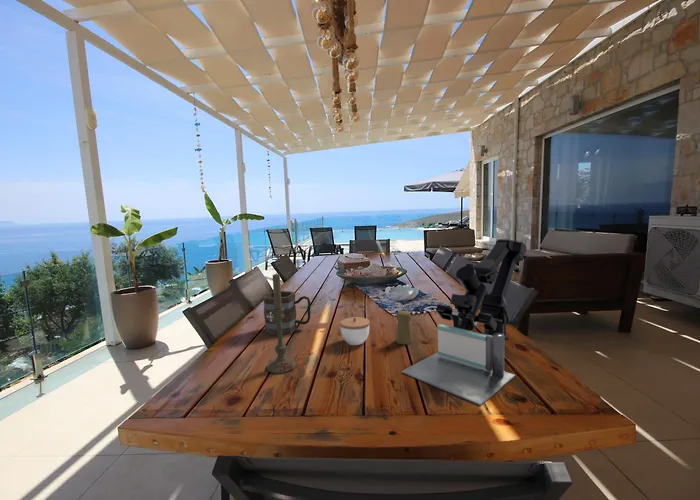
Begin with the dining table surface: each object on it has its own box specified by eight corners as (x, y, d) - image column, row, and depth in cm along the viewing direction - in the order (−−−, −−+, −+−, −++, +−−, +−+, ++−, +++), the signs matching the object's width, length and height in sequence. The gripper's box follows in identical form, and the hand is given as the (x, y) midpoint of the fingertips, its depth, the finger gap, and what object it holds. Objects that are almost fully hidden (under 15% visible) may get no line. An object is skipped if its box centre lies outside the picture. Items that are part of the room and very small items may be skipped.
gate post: (515, 376, 92) (515, 334, 91) (480, 405, 79) (480, 357, 78) (440, 352, 110) (440, 317, 109) (401, 372, 97) (401, 333, 96)
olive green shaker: (412, 344, 117) (411, 314, 116) (395, 344, 118) (394, 314, 117) (412, 338, 123) (412, 309, 122) (396, 337, 124) (395, 309, 123)
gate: (493, 369, 95) (493, 335, 94) (490, 371, 94) (490, 337, 93) (440, 353, 107) (440, 323, 106) (437, 355, 105) (437, 325, 104)
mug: (260, 336, 131) (257, 299, 129) (268, 325, 144) (266, 291, 143) (310, 334, 131) (308, 297, 129) (313, 323, 144) (312, 289, 142)
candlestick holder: (270, 376, 98) (264, 276, 94) (263, 364, 106) (257, 271, 102) (300, 369, 102) (295, 272, 98) (291, 358, 110) (286, 268, 107)
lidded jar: (373, 338, 125) (372, 313, 124) (365, 349, 115) (364, 323, 114) (346, 335, 128) (345, 312, 127) (336, 346, 118) (335, 320, 117)
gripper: (438, 280, 111) (418, 319, 105) (493, 288, 97) (474, 334, 91) (451, 298, 117) (433, 337, 111) (504, 308, 103) (487, 353, 97)
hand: (454, 339), depth 103 cm, fingers closed, pressing on gate
